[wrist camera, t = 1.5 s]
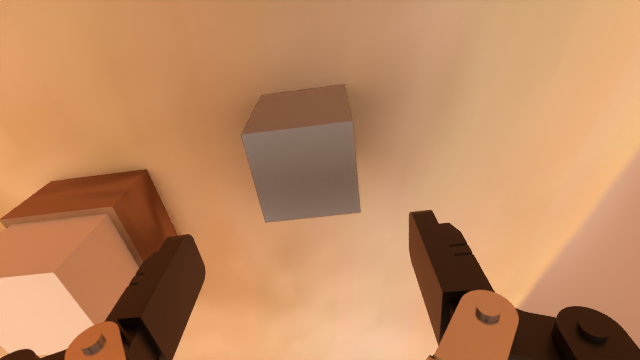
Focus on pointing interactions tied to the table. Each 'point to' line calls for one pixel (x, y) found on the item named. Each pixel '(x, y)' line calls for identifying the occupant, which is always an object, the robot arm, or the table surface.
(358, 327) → the table surface
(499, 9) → the table surface
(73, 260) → the tower top
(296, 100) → the slate block
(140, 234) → the tower base
